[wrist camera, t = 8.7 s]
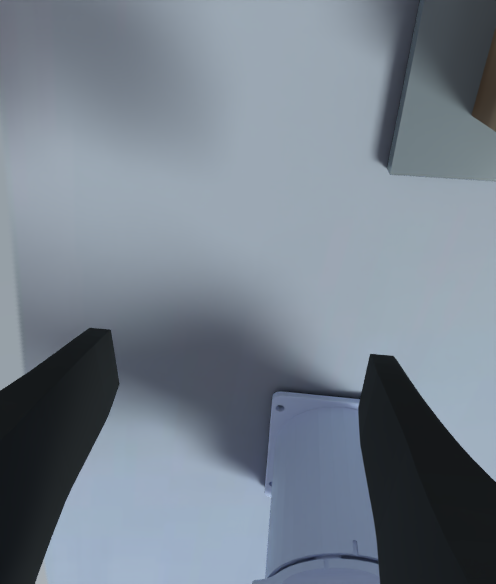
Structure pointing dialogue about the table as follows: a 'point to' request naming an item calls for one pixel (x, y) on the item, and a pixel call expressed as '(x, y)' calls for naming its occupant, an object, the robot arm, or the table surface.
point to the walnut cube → (487, 91)
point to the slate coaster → (445, 94)
